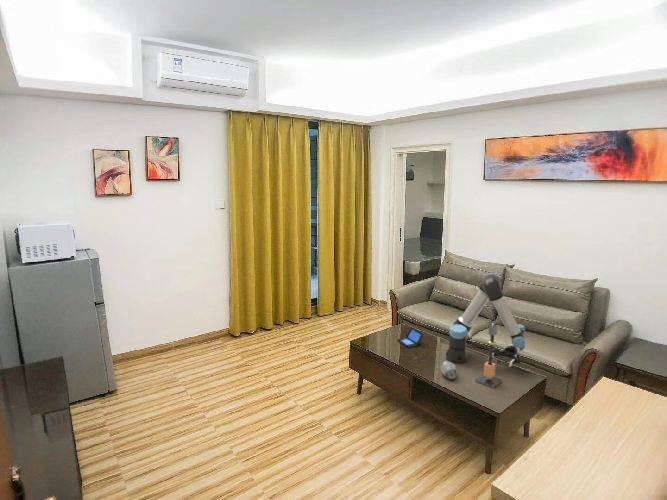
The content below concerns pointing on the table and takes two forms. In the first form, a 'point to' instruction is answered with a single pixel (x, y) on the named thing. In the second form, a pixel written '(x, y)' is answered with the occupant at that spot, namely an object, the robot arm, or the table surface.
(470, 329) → the robot arm
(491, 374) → the sleeve
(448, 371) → the spool
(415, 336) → the handheld game console
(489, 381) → the stand
